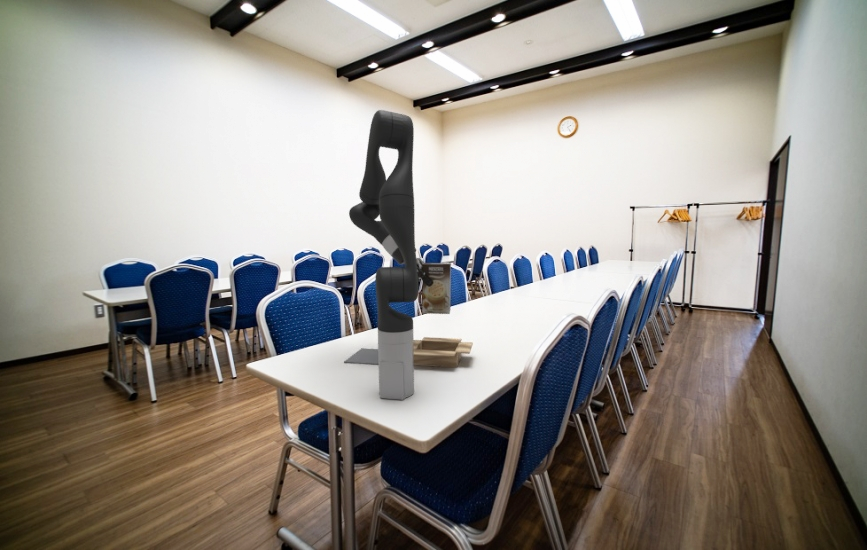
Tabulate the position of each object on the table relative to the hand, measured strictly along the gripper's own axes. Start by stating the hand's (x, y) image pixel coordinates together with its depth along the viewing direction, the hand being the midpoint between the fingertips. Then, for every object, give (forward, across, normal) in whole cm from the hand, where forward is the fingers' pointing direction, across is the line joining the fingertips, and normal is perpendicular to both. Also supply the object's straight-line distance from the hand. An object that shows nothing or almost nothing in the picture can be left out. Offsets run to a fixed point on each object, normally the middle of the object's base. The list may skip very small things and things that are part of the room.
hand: (434, 283), depth 121 cm
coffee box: (+7, 0, +6) cm, 10 cm away
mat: (+3, 0, +34) cm, 34 cm away
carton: (+19, 0, +17) cm, 26 cm away
